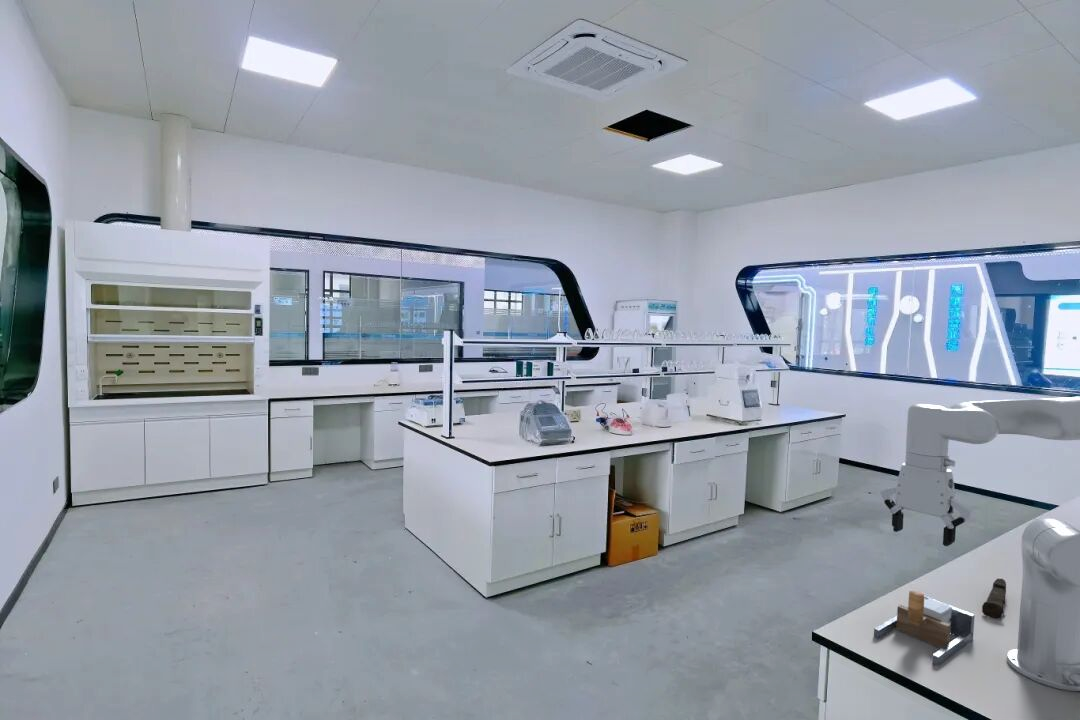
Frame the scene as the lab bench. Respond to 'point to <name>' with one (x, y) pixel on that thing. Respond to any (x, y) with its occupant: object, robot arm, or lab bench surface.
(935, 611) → the skincare box
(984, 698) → the lab bench surface
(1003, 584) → the hand tool
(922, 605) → the sliding jaw
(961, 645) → the clamp frame
